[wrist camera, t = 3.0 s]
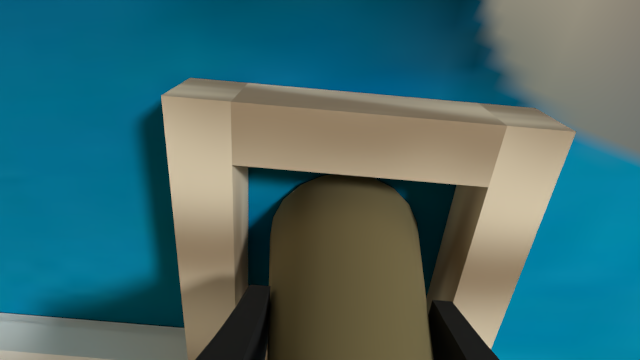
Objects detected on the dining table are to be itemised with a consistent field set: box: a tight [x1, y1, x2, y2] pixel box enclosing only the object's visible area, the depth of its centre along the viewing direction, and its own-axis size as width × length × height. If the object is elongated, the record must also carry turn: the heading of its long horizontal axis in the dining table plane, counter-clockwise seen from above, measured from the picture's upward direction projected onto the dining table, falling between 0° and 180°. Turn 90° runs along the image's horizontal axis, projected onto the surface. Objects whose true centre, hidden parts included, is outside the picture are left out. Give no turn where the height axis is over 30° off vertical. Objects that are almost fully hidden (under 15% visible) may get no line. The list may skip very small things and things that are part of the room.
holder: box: [161, 78, 576, 360], centre depth 15 cm, size 12×12×2 cm
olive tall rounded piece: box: [267, 174, 434, 360], centre depth 11 cm, size 6×6×11 cm
